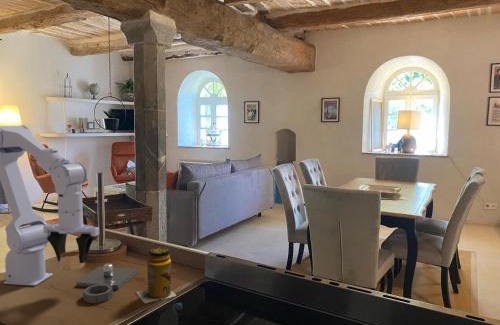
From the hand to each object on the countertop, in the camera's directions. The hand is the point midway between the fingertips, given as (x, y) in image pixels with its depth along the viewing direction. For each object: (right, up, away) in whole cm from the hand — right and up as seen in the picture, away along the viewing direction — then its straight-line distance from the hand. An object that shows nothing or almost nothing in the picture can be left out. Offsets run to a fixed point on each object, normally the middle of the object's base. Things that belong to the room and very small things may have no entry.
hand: (72, 261), depth 103 cm
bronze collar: (0, -2, 0) cm, 2 cm away
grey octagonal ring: (+8, -9, -2) cm, 12 cm away
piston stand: (+6, -8, +9) cm, 13 cm away
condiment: (+22, -9, 0) cm, 24 cm away
